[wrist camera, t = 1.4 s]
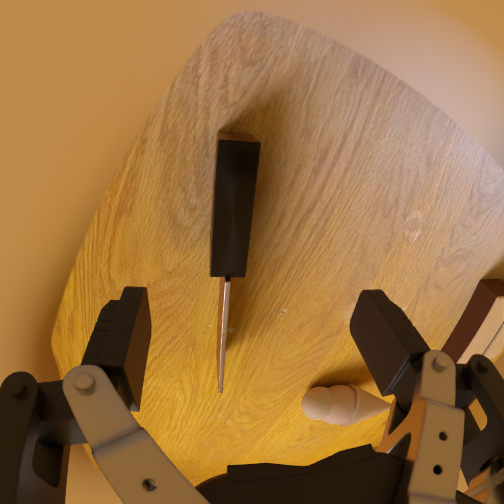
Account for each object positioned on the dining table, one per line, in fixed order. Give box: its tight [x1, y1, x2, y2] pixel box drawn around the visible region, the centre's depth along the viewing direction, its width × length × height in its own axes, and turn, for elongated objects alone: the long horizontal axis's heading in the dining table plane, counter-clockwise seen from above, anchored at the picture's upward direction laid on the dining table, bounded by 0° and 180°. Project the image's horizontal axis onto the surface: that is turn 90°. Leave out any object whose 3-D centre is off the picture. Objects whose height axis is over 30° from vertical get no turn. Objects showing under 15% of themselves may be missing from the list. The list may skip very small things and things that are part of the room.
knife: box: [210, 132, 261, 393], centre depth 23 cm, size 22×2×5 cm, turn 174°
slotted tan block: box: [441, 279, 504, 364], centre depth 33 cm, size 14×14×4 cm
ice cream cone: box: [302, 384, 392, 427], centre depth 34 cm, size 6×6×15 cm
